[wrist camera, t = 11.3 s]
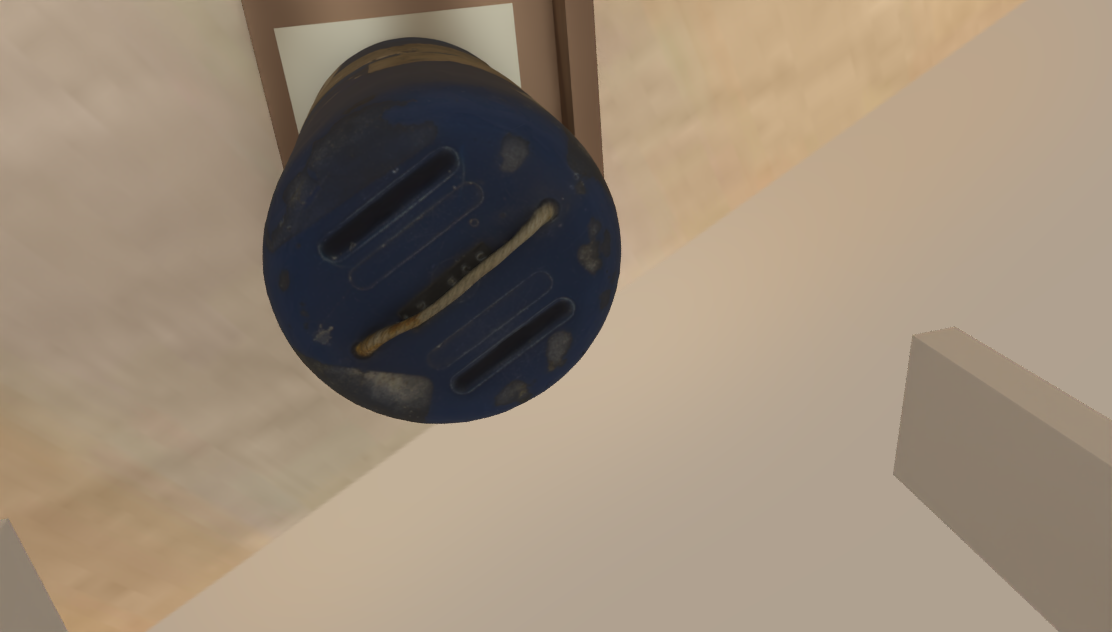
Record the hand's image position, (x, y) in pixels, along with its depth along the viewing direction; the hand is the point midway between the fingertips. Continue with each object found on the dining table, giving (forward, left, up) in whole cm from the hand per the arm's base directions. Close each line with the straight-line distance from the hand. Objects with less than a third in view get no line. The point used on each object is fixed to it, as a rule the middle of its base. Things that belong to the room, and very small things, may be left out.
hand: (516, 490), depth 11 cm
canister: (0, 0, -26) cm, 26 cm away
